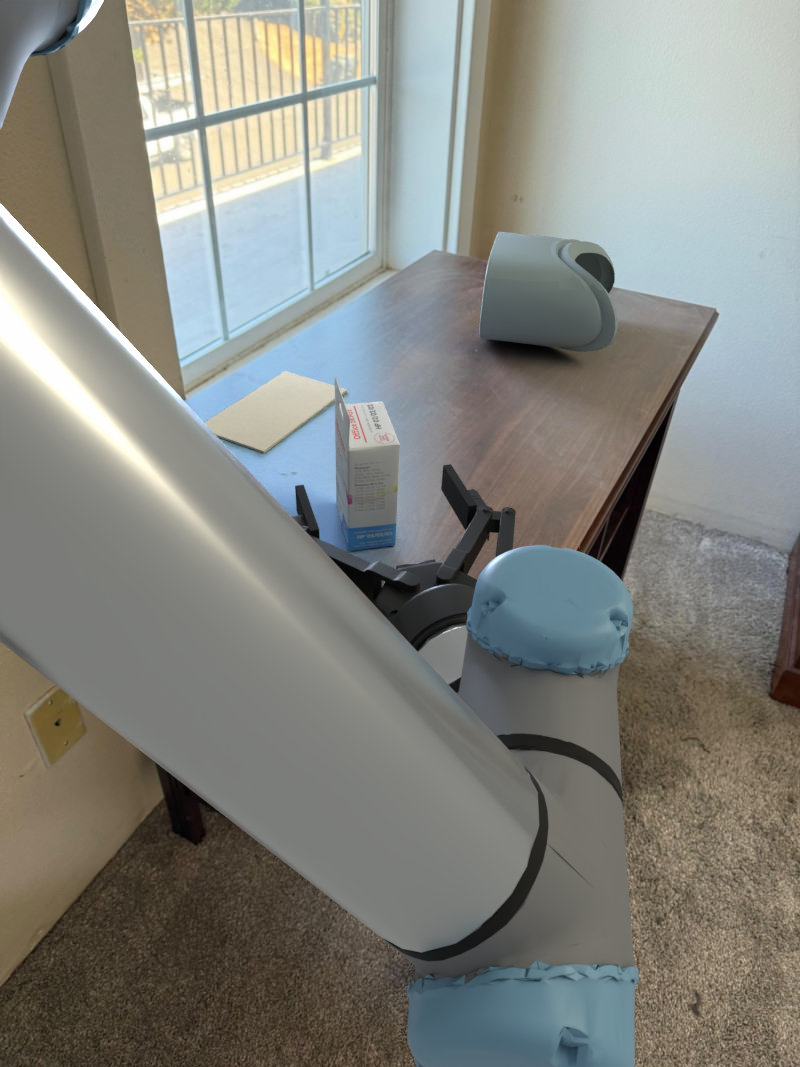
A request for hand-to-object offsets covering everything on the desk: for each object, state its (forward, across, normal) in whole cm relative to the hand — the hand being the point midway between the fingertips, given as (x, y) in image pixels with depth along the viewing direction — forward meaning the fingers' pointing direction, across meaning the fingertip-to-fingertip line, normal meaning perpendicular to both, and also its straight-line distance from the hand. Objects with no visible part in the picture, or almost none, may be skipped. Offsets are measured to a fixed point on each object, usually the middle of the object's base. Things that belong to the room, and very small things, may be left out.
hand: (374, 486), depth 67 cm
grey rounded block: (+45, +40, -8) cm, 61 cm away
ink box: (+5, 0, -8) cm, 10 cm away
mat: (+30, -4, -8) cm, 32 cm away
